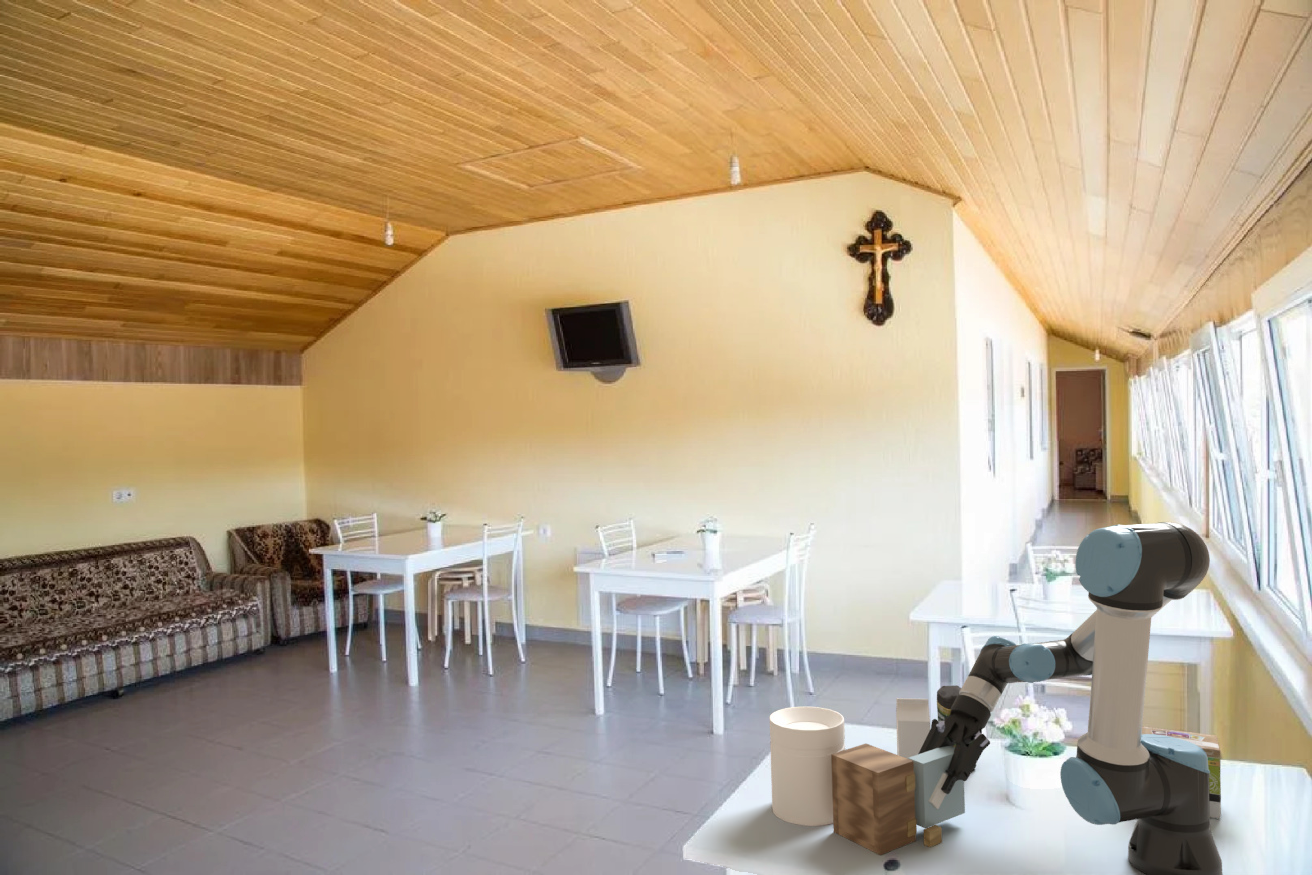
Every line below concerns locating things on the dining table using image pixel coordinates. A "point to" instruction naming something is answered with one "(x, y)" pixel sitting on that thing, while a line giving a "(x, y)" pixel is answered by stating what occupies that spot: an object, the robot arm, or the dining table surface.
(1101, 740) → the robot arm
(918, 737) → the milk carton
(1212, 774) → the tea box
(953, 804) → the door
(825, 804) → the canister
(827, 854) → the dining table surface
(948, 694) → the coffee jar
